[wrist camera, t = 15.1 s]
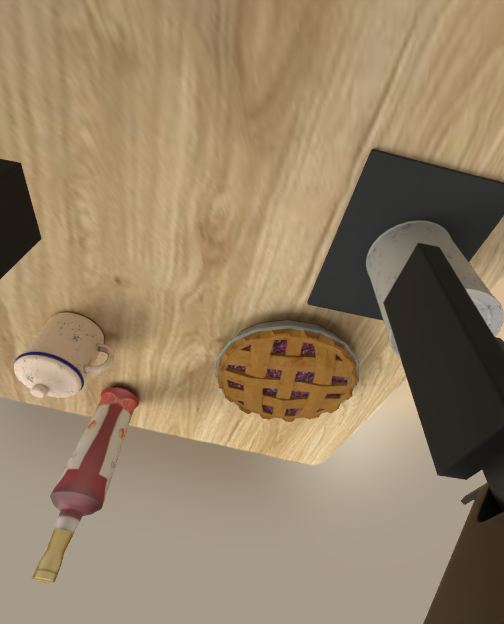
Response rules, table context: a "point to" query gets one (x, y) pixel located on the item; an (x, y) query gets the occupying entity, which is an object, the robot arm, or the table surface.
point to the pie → (287, 370)
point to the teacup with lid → (62, 356)
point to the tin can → (395, 253)
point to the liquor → (87, 474)
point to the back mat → (398, 209)
